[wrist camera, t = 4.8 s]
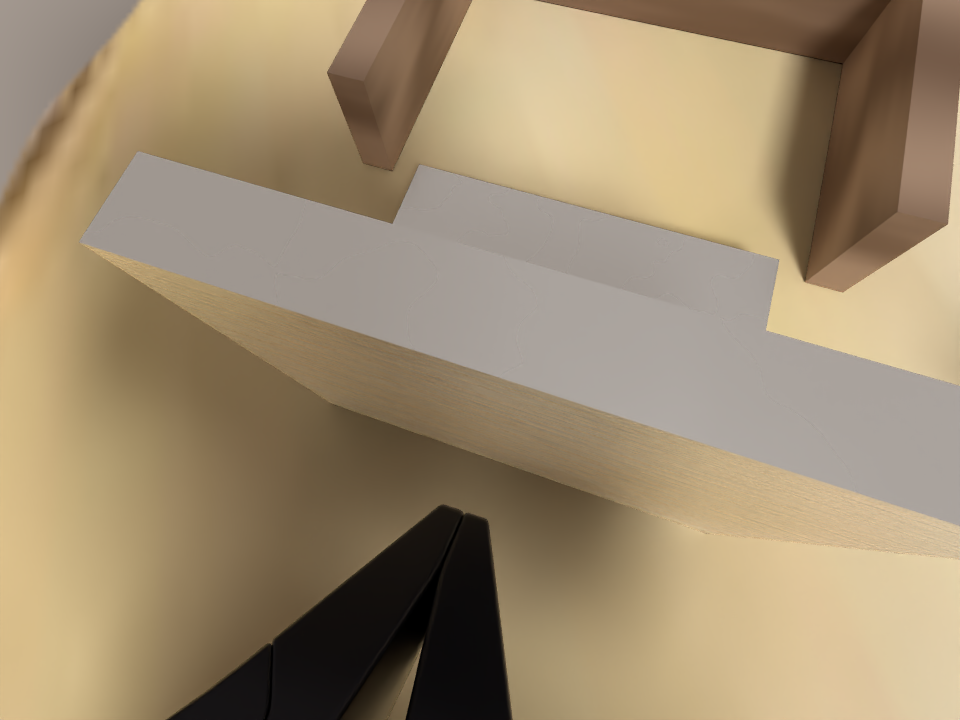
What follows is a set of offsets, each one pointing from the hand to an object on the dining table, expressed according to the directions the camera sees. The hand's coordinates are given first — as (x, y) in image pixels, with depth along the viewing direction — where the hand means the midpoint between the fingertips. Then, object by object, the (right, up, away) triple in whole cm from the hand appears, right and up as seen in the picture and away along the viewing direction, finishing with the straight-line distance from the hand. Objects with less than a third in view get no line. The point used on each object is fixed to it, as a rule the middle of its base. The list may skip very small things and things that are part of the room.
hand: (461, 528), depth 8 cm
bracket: (+3, +3, +8) cm, 9 cm away
